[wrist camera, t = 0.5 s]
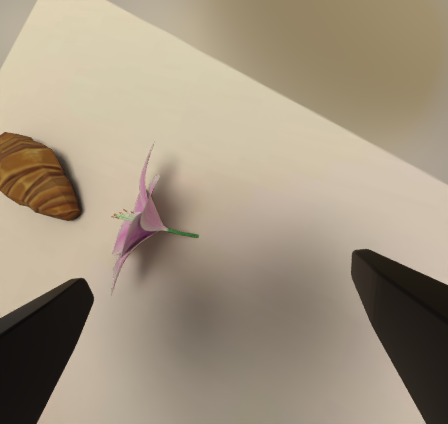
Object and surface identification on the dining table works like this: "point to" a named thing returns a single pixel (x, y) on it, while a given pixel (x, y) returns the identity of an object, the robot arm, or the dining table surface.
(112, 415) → the dining table surface
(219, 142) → the dining table surface
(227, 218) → the dining table surface
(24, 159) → the croissant
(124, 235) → the lily
